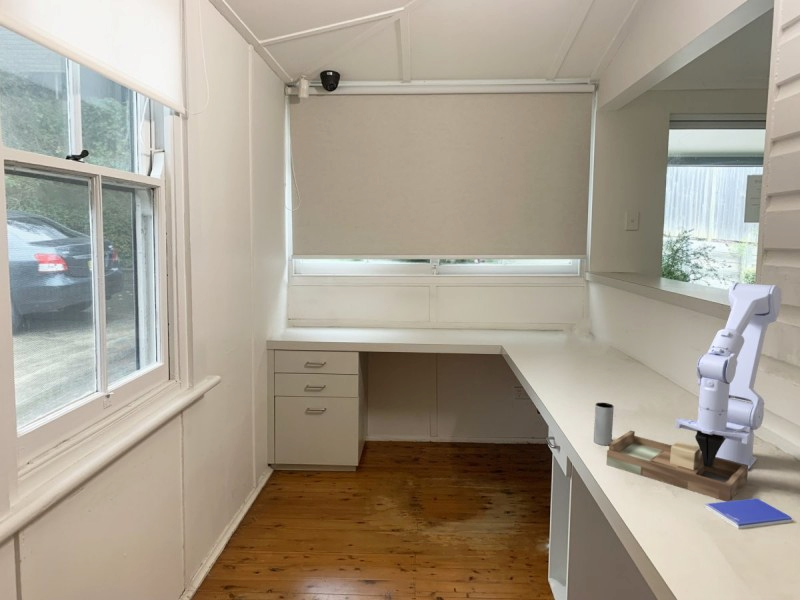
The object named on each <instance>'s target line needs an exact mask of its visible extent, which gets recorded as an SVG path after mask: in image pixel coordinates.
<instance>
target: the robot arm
mask: <svg viewBox="0 0 800 600" xmlns="http://www.w3.org/2000/svg"><path fill="white" fill-rule="evenodd" d="M782 299H783V298H782V289H781V288H780V287H779V285H778V284H773V285H772V284H771V285H770V284H757V283H754V284H753V283H742V282H734V283H732V285H731V286H730V287H729V291H728V304H729V306H730V307H729V308H730V312H729V316H728V319H727V322H726V323H725V327H724V328H722V329H720V330H718V331H717V332H716V335H715V336H714V338H713V340H712V342H711V344H710V345H709V348H708V351H707V353H705V354H702V355H700V356H699V358H698V359H697V362H696V368H695V369H696V376H697V385H698V386H699V395H698V409H697V411H698V412H697V420H694V419H687V418H681V417H678V418H676V419H675V426H674V427H675V429H684V430H687V431H692V432H696V435H695V436H694V437H695V440H696V442H697V446H699V447H700V450H701V453H702V456H703V462H704V466H706V467H710V468H711V467H712V466H713V463H714V459H715V457H719V458H722V459H726V460H730V461H734V462H738V463H742V464H746V465H748V471H749V470H750V469H751V467H753V465H754V464H755V463H756V461H757V460H758V458H757V457H756V456H753V455H754V454H753V452H754V451H753V450H754V444H755V443H754V441H755V433H754V431H757V430H758V429H759V428H760V427H761V426H762V424H763V422H764V416H765V415H764V414H765V413H764V409H765V408H764V407H765V402H764V398H763V397H762V396H761V395H760V394H759V393H758V392H756V391H755V390H754V387H755V382H756V378H757V373H758V369H759V363H760V360H761V355H762V352H763V351H762V350H763V347H764V340H765V336H766V332H767V330H768V326H769V324H771V323H774V322H777V319H778V317H779V313H780V310H781V305H782Z"/></svg>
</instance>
